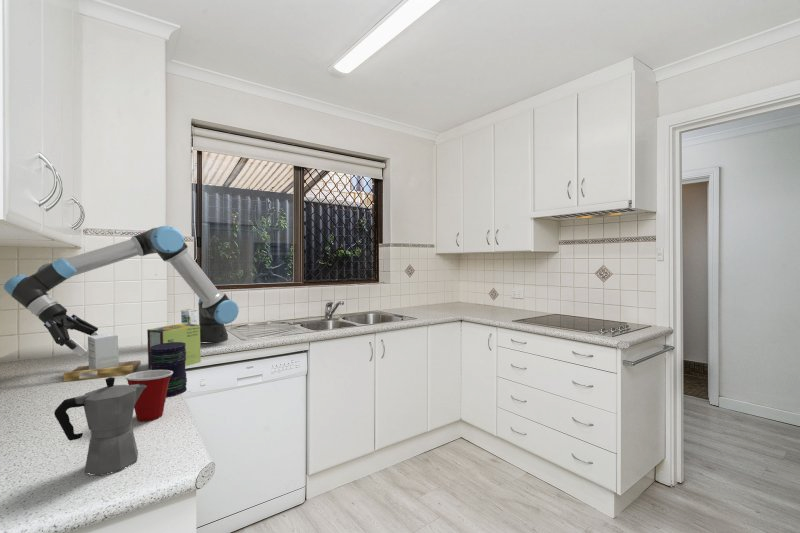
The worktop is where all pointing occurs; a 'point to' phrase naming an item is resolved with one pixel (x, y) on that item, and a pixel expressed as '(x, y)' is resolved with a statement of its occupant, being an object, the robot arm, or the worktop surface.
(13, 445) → the worktop surface
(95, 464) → the coffeepot
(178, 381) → the storage jar
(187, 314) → the syrup box
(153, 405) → the plastic cup
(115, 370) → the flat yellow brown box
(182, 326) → the protein box
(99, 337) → the supplement box
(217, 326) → the robot arm
